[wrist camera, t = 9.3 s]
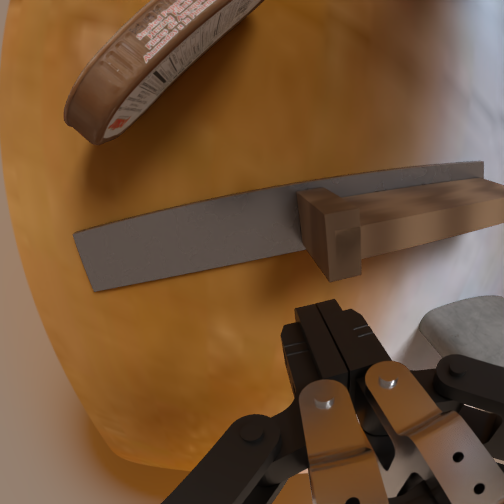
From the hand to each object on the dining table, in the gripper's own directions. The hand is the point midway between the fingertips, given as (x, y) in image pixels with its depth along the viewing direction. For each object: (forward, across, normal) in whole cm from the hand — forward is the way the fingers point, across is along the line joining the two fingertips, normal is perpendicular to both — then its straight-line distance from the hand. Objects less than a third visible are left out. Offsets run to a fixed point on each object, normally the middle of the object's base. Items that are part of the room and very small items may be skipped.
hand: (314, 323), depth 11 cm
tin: (+13, +3, -13) cm, 18 cm away
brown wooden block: (+12, -12, 0) cm, 17 cm away
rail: (+12, -4, 0) cm, 13 cm away
